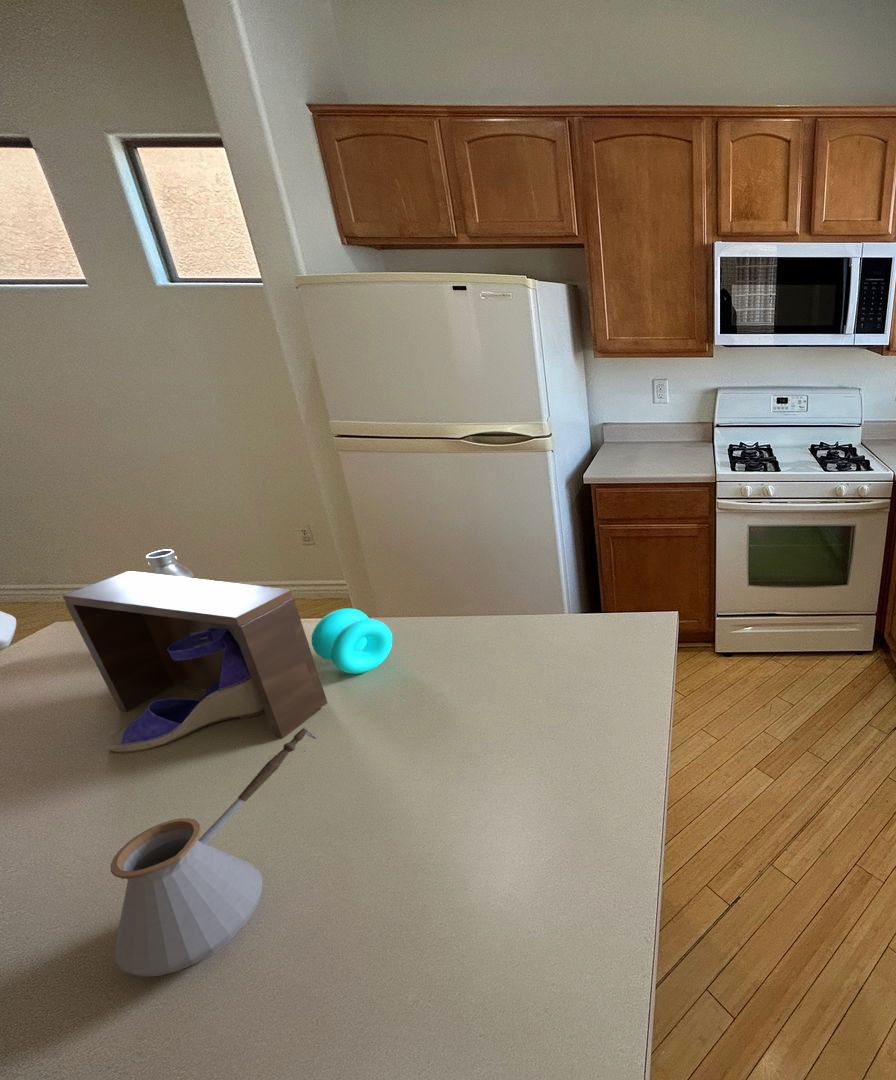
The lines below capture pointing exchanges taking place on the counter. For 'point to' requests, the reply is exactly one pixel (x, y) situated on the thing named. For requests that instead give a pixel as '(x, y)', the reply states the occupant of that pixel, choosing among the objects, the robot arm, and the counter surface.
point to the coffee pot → (185, 890)
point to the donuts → (352, 640)
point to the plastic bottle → (167, 564)
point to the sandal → (188, 715)
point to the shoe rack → (190, 606)
